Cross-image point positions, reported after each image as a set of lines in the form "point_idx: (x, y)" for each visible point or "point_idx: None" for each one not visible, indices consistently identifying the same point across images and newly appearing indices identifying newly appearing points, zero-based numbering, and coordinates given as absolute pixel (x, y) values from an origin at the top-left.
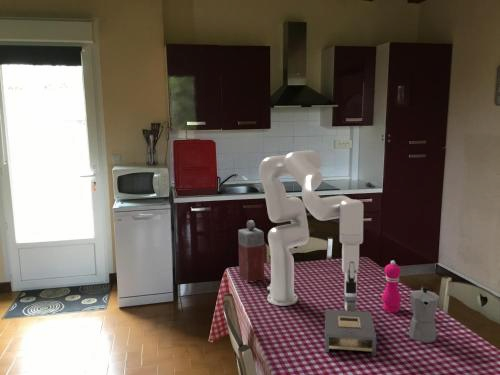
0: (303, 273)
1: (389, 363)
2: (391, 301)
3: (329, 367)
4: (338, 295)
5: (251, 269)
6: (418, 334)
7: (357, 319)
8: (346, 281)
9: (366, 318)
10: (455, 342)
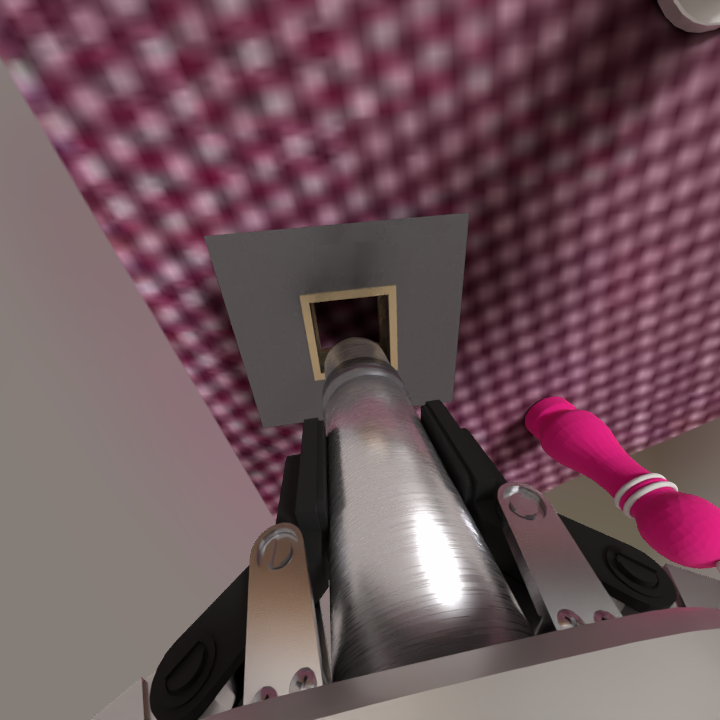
0: None
1: (250, 420)
2: (548, 439)
3: (140, 260)
4: (678, 254)
5: None
6: None
7: (389, 361)
8: (303, 515)
9: None
10: None
